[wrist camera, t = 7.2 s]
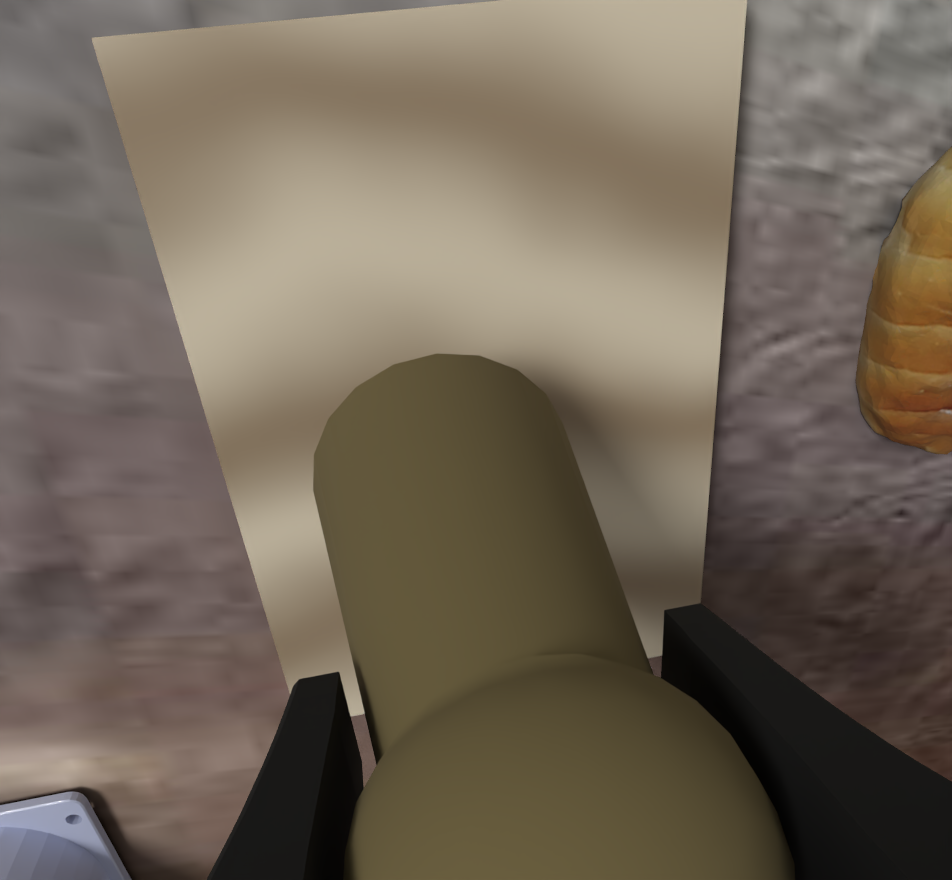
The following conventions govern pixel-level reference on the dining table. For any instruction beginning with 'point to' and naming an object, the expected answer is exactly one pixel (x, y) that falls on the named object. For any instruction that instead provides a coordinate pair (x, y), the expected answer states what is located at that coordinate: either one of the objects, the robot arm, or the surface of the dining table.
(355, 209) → the birch board
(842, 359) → the dining table surface
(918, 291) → the pastry
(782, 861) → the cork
